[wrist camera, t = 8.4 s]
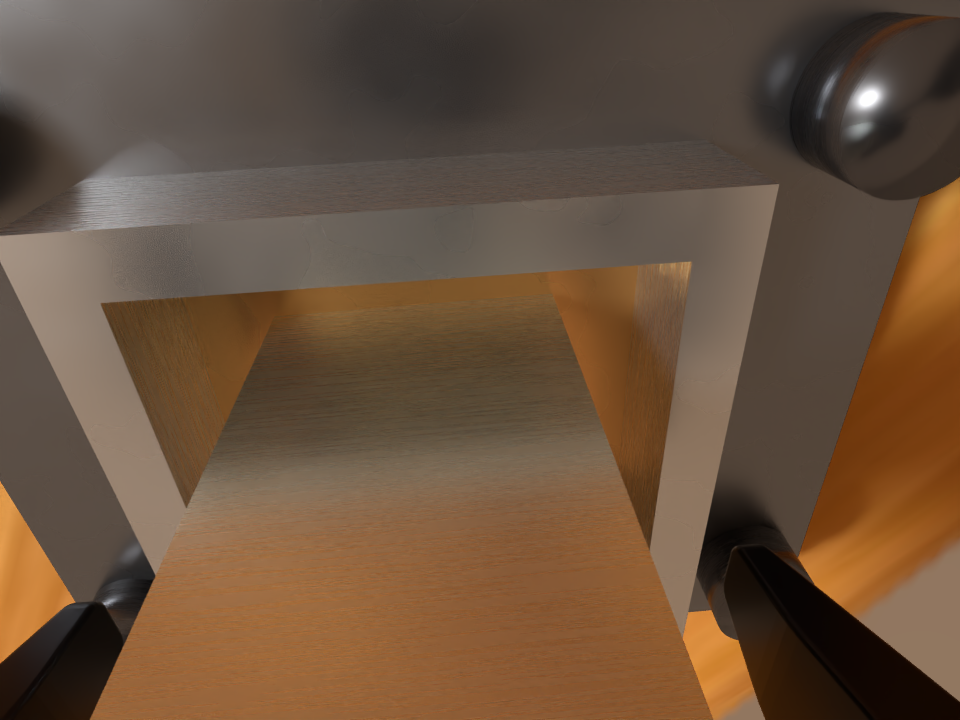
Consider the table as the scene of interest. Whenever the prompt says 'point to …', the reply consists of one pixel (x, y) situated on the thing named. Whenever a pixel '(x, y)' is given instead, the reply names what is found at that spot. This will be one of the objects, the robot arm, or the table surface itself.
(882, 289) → the square hole base plate
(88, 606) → the robot arm
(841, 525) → the table surface
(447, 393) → the brushed metal square peg
